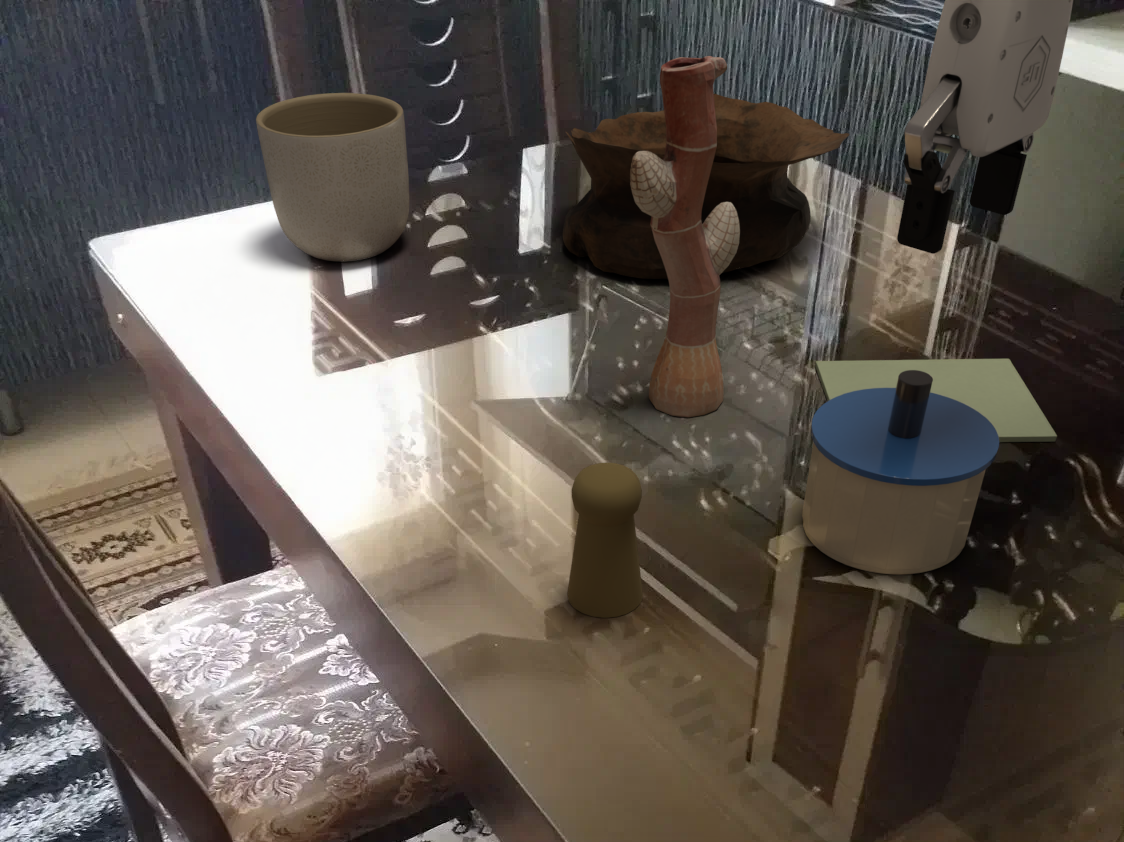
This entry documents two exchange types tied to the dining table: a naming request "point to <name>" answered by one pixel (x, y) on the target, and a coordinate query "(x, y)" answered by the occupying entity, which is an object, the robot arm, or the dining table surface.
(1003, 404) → the mat
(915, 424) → the lid
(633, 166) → the vase
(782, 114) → the bowl
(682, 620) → the dining table surface
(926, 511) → the pot
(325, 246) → the planter
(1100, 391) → the dining table surface
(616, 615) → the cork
